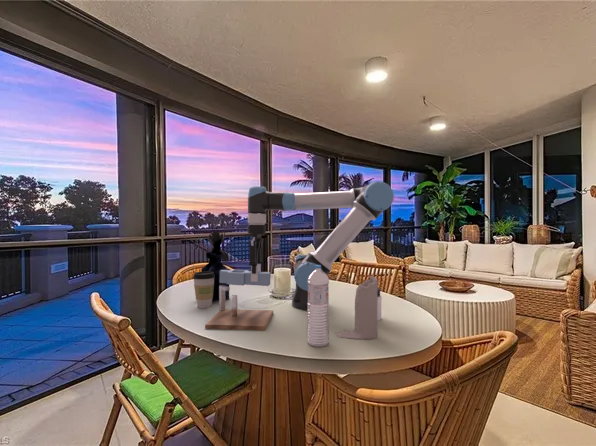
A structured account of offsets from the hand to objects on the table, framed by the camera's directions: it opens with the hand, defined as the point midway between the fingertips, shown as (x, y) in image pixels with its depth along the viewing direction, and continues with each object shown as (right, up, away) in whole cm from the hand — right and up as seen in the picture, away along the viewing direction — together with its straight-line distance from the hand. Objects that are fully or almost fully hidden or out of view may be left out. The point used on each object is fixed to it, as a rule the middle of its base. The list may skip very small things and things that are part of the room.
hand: (255, 280), depth 134 cm
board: (-4, -14, -9) cm, 17 cm away
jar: (+46, -14, -7) cm, 49 cm away
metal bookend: (+38, -15, -24) cm, 47 cm away
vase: (-23, -14, +25) cm, 36 cm away
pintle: (-7, -14, -8) cm, 18 cm away
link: (-5, -2, +1) cm, 5 cm away
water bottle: (+24, -15, -31) cm, 42 cm away
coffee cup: (-25, -14, +12) cm, 31 cm away
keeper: (-12, -14, -2) cm, 19 cm away
